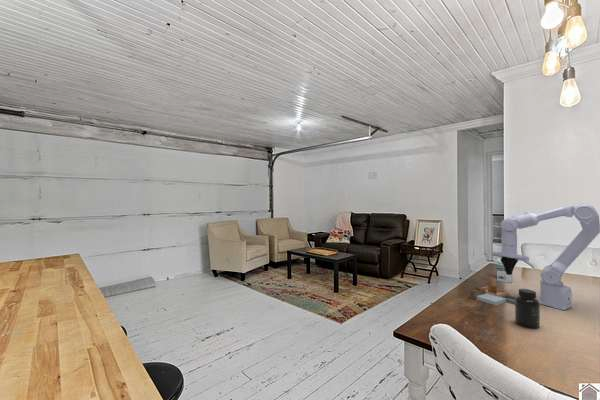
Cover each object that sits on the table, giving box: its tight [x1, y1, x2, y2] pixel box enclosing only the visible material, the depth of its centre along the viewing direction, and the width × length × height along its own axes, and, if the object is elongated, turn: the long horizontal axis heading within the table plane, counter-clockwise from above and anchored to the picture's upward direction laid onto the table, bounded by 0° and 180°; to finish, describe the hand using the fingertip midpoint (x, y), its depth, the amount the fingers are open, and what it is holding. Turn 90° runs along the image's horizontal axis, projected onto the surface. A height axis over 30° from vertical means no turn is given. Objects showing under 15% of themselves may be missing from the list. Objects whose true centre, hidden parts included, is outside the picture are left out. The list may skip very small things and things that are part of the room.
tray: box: [482, 285, 510, 296], centre depth 132 cm, size 9×9×2 cm
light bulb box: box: [496, 257, 513, 284], centre depth 155 cm, size 11×7×11 cm, turn 143°
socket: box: [498, 294, 517, 305], centre depth 124 cm, size 7×7×1 cm
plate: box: [476, 293, 507, 306], centre depth 124 cm, size 8×8×2 cm
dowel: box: [487, 276, 498, 294], centre depth 132 cm, size 3×3×7 cm
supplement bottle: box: [514, 288, 541, 329], centre depth 101 cm, size 7×7×12 cm
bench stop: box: [470, 286, 485, 301], centre depth 128 cm, size 2×8×4 cm, turn 119°
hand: (509, 274), depth 130 cm, fingers closed
